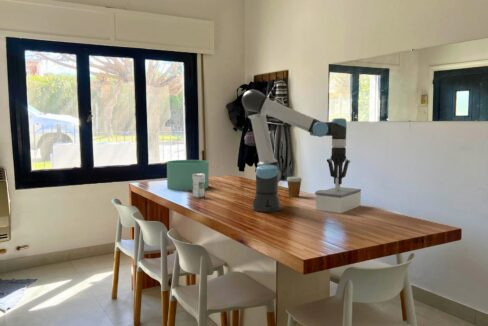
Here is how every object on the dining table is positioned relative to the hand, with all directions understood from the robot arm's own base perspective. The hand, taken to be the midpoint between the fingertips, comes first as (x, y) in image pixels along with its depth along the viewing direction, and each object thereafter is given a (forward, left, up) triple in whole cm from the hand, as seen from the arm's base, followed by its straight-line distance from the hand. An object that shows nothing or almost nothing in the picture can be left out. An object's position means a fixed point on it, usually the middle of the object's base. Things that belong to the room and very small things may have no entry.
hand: (337, 190), depth 225 cm
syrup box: (-24, +82, -10) cm, 86 cm away
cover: (0, -1, -2) cm, 2 cm away
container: (0, +116, -10) cm, 117 cm away
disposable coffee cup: (+16, +37, -10) cm, 42 cm away
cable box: (0, -1, -10) cm, 10 cm away
